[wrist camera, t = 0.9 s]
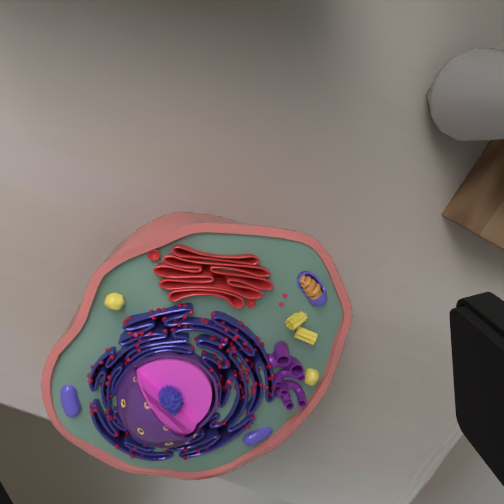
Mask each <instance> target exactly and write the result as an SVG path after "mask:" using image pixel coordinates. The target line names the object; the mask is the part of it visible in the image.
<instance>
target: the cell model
mask: <svg viewBox="0 0 504 504" xmlns="http://www.w3.org/2000/svg"><path fill="white" fill-rule="evenodd" d="M351 321H352V307H351V303H350V301H349V298H348V295H347V292H346V290H345V287H344V285H343V283H342V280H341V278H340V276H339V273H338V271H337V269H336V266H335V264H334V262H333V260H332V257H331V256H330V255H329V253H328V252H327V251H326V250H325V249H324V247H323V246H322V245H321V244H320V242H319V241H318V240H316V239H314V238H312V237H310V236H309V235H307V234H304V233H300V232H296V231H291V230H287V229H280V228H273V227H265V226H253V225H249V224H244V223H239V222H236V221H233V220H230V219H227V218H223V217H220V216H214V215H207V214H199V213H191V212H175V213H171V214H167V215H164V216H162V217H159V218H157V219H155V220H153V221H151V222H149V223H147V224H146V225H144V226H142V227H140V228H139V229H137V230H136V231H135V232H133V233H132V234H131V235H130V236H128V237H127V238H126V239H124V240H123V241H122V242H121V243H120V244H119V245H118V246H116V247H115V249H114V250H113V251H112V252H111V253H110V255H109V256H108V257H107V258H106V259H105V261H104V262H103V263H102V264H101V266H100V267H99V268H98V269H97V270H96V272H95V273H94V274H93V275H92V278H91V280H90V282H89V285H88V287H87V290H86V293H85V295H84V297H83V300H82V302H81V304H80V306H79V307H78V309H77V311H76V313H75V315H74V316H73V318H72V320H71V322H70V324H69V326H68V328H67V330H66V331H65V333H64V334H63V335H62V337H61V338H60V339H59V341H58V342H57V343H56V344H55V346H54V347H53V348H52V350H51V352H50V354H49V356H48V358H47V360H46V363H45V366H44V370H43V373H42V381H41V387H42V397H43V401H44V404H45V407H46V410H47V414H48V416H49V418H50V420H51V421H52V423H53V425H54V426H55V428H56V429H57V430H58V431H59V432H60V433H61V434H62V435H63V436H64V437H65V438H67V439H68V440H69V441H70V442H72V443H73V444H75V445H76V446H78V447H80V448H81V449H83V450H84V451H86V452H87V453H89V454H91V455H92V456H94V457H96V458H98V459H99V460H101V461H103V462H105V463H107V464H108V465H110V466H112V467H114V468H117V469H119V470H122V471H125V472H129V473H135V474H144V475H157V476H165V477H171V478H178V479H183V480H200V479H207V478H213V477H216V476H220V475H223V474H225V473H228V472H230V471H233V470H235V469H237V468H238V467H240V466H242V465H244V464H246V463H247V462H249V461H251V460H253V459H255V458H257V457H259V456H261V455H263V454H265V453H267V452H270V451H272V450H274V449H275V448H276V447H278V446H279V445H280V444H282V443H283V442H284V441H285V440H286V439H287V438H288V437H289V436H290V435H291V434H292V433H293V432H294V431H295V430H296V428H297V427H298V426H299V425H300V424H301V423H302V422H303V421H304V420H305V419H306V418H307V416H308V415H309V414H310V413H311V412H312V410H313V409H314V408H315V406H316V405H317V404H318V402H319V401H320V400H321V399H322V397H323V395H324V394H325V392H326V390H327V388H328V387H329V385H330V383H331V380H332V378H333V376H334V373H335V370H336V367H337V365H338V362H339V359H340V356H341V353H342V349H343V346H344V343H345V340H346V337H347V334H348V331H349V328H350V324H351Z"/></svg>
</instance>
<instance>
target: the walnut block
mask: <svg viewBox="0 0 504 504" xmlns="http://www.w3.org/2000/svg"><path fill="white" fill-rule="evenodd" d="M442 215H443V216H445V217H447V218H449V219H450V220H452V221H454V222H456V223H457V224H459V225H461V226H463V227H464V228H466V229H468V230H470V231H471V232H473V233H475V234H477V235H479V236H480V237H482V238H484V239H486V240H487V241H489V242H491V243H493V244H494V245H496V246H498V247H500V248H501V249H503V250H504V139H497V140H491V142H490V143H489V145H488V146H487V148H486V149H485V151H484V152H483V154H482V155H481V157H480V158H479V159H478V161H477V162H476V164H475V165H474V167H473V168H472V170H471V171H470V173H469V174H468V176H467V177H466V179H465V180H464V182H463V183H462V185H461V186H460V188H459V189H458V191H457V192H456V194H455V195H454V197H453V198H452V200H451V201H450V203H449V204H448V206H447V207H446V209H445V210H444V212H443V213H442Z"/></svg>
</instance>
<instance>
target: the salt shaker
mask: <svg viewBox="0 0 504 504" xmlns="http://www.w3.org/2000/svg"><path fill="white" fill-rule="evenodd" d="M426 96H427V99H428V103H429V106H430V111H431V117H432V118H433V120H434V122H435V123H436V125H437V127H438V128H439V130H440V131H441V132H443V133H445V134H447V135H448V136H450V137H452V138H454V139H456V140H458V141H480V140H497V139H504V51H500V50H496V49H492V48H488V49H471V50H468V51H466V52H464V53H462V54H460V55H458V56H456V57H454V58H452V59H450V60H449V61H448V62H447V63H446V64H445V66H444V67H443V68H442V69H441V70H440V72H439V73H438V75H437V76H436V78H435V80H434V82H433V84H432V86H431V88H430V90H429V91H428V93H427V95H426Z"/></svg>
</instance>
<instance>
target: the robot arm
mask: <svg viewBox="0 0 504 504" xmlns="http://www.w3.org/2000/svg"><path fill="white" fill-rule="evenodd" d="M450 330H451V345H452V360H453V376H454V391H455V406H456V417H457V421H458V424H459V426H460V428H461V430H462V432H463V434H464V435H465V436H466V438H467V439H468V440H469V442H470V443H471V444H472V446H473V447H474V448H475V449H476V451H477V452H478V453H479V455H480V456H481V457H482V459H483V460H484V461H485V463H486V464H487V465H488V467H489V468H490V469H491V470H492V472H493V473H494V474H495V476H496V477H497V478H498V480H499V481H500V482H501V483H502V485H503V486H504V301H502V300H501V299H500V298H498V297H497V296H496V295H494V294H492V293H490V292H485V293H481V294H477V295H473V296H470V297H466V298H462V299H460V300H458V302H457V305H456V308H454V309H452V310H451V311H450ZM0 504H13V503H12V501H11V499H10V498H9V496H8V494H7V492H6V491H5V489H4V487H3V485H2V484H1V482H0Z"/></svg>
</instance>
